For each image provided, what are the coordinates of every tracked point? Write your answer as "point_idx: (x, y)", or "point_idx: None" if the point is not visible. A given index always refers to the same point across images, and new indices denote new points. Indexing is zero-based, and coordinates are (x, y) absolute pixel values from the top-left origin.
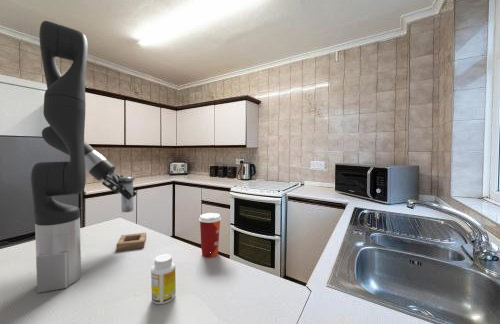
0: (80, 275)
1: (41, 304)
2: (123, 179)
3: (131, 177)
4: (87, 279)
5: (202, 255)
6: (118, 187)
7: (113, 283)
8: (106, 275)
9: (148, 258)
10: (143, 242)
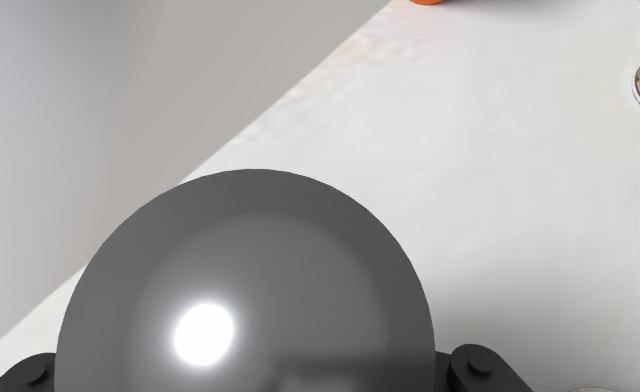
0: (582, 390)
1: None
2: (424, 364)
3: (236, 239)
4: (585, 354)
5: (435, 2)
6: (517, 384)
7: (603, 249)
8: (559, 296)
9: (440, 183)
10: None
